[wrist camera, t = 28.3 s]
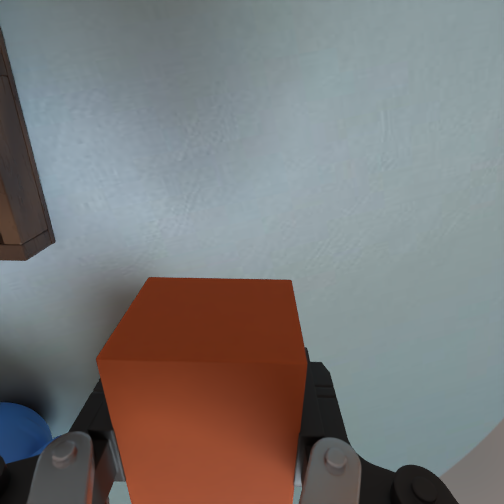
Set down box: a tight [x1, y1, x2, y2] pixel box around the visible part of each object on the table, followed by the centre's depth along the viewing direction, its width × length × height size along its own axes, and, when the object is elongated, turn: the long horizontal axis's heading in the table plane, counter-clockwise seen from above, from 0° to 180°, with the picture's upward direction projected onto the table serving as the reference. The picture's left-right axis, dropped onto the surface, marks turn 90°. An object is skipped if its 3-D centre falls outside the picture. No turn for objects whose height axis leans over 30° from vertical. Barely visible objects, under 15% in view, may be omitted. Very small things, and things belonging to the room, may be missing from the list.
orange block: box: [96, 277, 308, 504], centre depth 11 cm, size 7×5×4 cm
